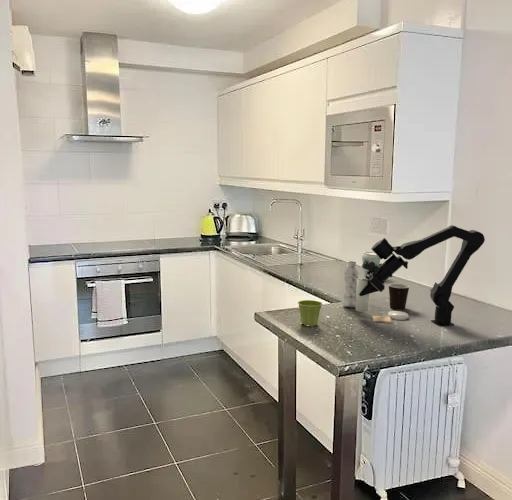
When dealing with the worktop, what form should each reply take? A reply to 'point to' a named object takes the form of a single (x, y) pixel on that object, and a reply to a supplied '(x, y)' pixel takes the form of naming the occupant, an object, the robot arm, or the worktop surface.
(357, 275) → the plastic bottle
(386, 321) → the coaster
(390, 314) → the ivory rounded dome part
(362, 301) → the tumbler
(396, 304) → the coffee mug
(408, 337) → the worktop surface
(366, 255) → the disposable coffee cup
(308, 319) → the plant pot
